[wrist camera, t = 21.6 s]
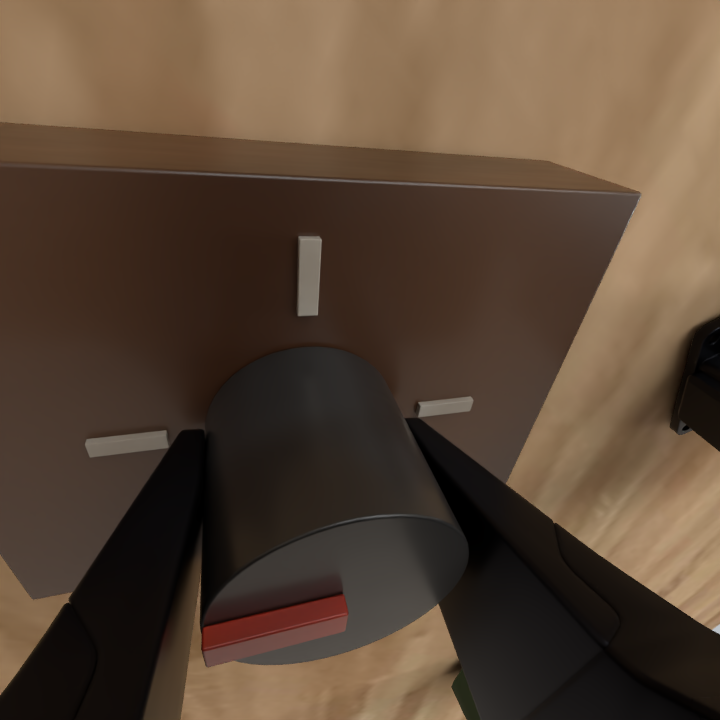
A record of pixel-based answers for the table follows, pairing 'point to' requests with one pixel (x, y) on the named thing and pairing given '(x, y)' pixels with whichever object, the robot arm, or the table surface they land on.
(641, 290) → the table surface
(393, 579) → the dial
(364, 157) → the control box
